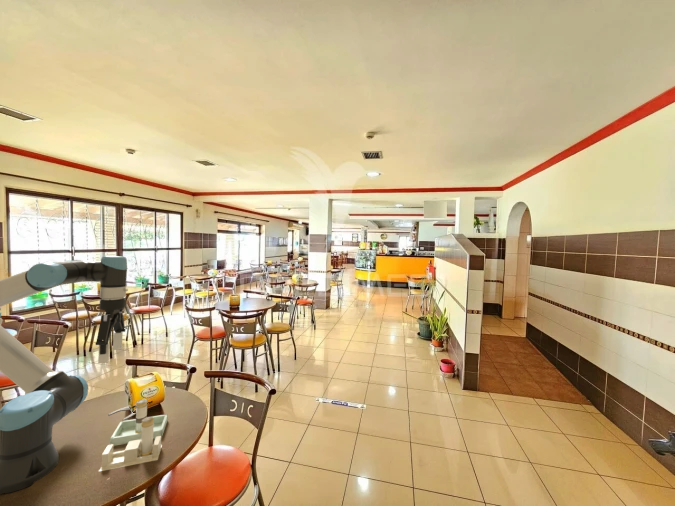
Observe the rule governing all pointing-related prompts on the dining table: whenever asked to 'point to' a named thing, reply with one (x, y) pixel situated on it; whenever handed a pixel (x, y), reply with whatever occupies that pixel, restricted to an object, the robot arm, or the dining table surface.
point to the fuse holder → (129, 455)
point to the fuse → (147, 436)
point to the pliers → (123, 409)
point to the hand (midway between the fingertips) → (110, 355)
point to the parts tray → (128, 427)
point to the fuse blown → (140, 414)
